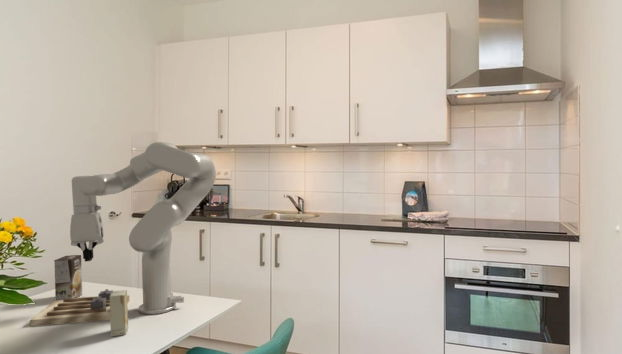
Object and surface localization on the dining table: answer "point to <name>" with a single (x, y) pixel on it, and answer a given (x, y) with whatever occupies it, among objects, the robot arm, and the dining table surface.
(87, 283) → the dining table surface
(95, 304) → the switch tab near
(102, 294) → the switch tab far
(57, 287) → the coffee box
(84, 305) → the wooden slatted tray
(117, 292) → the skincare box
